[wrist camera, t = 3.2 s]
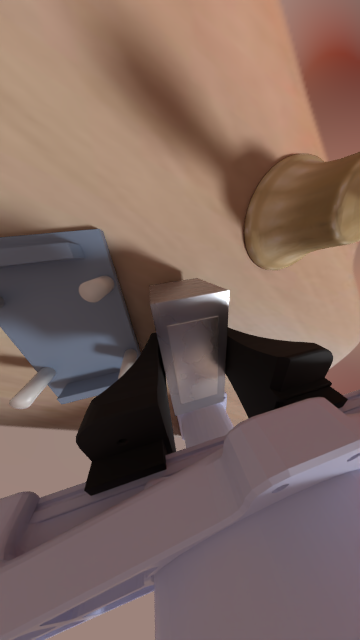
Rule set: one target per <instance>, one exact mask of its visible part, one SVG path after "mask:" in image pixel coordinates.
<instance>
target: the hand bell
mask: <svg viewBox="0 0 360 640" xmlns="http://www.w3.org/2000/svg"><path fill="white" fill-rule="evenodd" d="M244 237H245V244H246V249H247V251H248V254H249V256H250V258H251V259H252V260H253V262H254V263H255V264H256V265H258V266H259V267H261V268H263V269H266V270H280V269H283V268H286V267H288V266H291V265H293V264H294V263H296V262H297V261H299V260H300V259H302V258H303V257H304V256H305V255H306V254H308V253H310V252H313V251H316V250H320V249H324V248H329V247H335V246H341V245H347V244H352V243H356V242H358V241H360V152H358V153H355V154H353V155H350V156H347V157H344V158H341V159H338V160H333V161H329V162H324V161H323V160H322V159H321V158H319V157H317V156H315V155H312V154H296V155H292V156H289V157H287V158H285V159H283V160H281V161H280V162H278V163H277V164H276V165H275V166H274V167H273V168H271V169H270V170H269V172H268V173H267V174H266V175H265V176H264V177H263V179H262V180H261V182H260V183H259V185H258V186H257V188H256V190H255V192H254V194H253V196H252V198H251V201H250V204H249V206H248V210H247V213H246V217H245V227H244Z"/></svg>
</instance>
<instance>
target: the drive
mask: <svg viewBox="0 0 360 640" xmlns="http://www.w3.org/2000/svg"><path fill="white" fill-rule="evenodd" d="M150 306H151V311H152V315H153V320H154V324H155V329H156V333H157V337H158V342H159V346H160V351H161V355H162V360H163V364H164V369H165V373H166V378H167V382H168V387H169V391H170V396H171V400H172V405H173V409H174V413H175V416H177V415H181V414H184V413H187V412H191V411H194V410H197V409H201V408H204V407H207V406H211V405H214V404H217V403H220V402H224V386H225V367H226V347H227V327H228V308H229V290H227V289H224V288H222V287H219V286H216V285H214V284H211V283H208V282H206V281H203V280H201V279H198V278H195V279H189V280H182V281H176V282H169V283H163V284H156V285H150Z"/></svg>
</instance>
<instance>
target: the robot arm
mask: <svg viewBox="0 0 360 640" xmlns="http://www.w3.org/2000/svg"><path fill="white" fill-rule="evenodd" d="M332 361H333V356H332V353H331V352H330V351H329V350H327V349H325V348H323V347H321V346H319V345H317V344H315V343H307V342H291V341H282V340H274V339H268V338H262V337H257V336H253V335H249V334H246V333H242V332H239V331H236V330H233V329H231V328H228V327H227V347H226V367H225V373H226V375H227V377H228V379H229V380H230V382H231V384H232V386H233V388H234V390H235V392H236V393H237V395H238V397H239V399H240V401H241V403H242V405H243V407H244V409H245V411H246V414H247V416H248V418H249V419H247V420H245V421H242V422H240V423H238V424H237V425H236V426H235V427H234V426H233V424H232V422H231V420H230V418H229V416H228V414H227V412H226V402H227V394H226V392H224V402H220V403H217V404H214V405H211V406H207V407H204V408H201V409H197V410H194V411H191V412H187V413H184V414H181V415H177V417H178V422H179V427H180V432H181V436H182V439H183V440H185V443H186V449H183V450H180V451H177V452H176V448H175V442H174V435H173V429H172V422H171V416H170V409H169V403H168V396H167V388H166V373H165V369H164V364H163V360H162V355H161V351H160V346H159V342H158V337H157V333H152V334H151V336H150V338H149V340H148V343H147V344H146V346H145V348H144V350H143V351H142V353H141V354H140V356H139V357H138V359H137V360H136V361H135V363H134V364H133V365H132V366H131V367H130V368H129V369H128V370H127V371H126V372H125V373H124V374H123V375H122V376H121V377H120V378H119V379H118V380H117V381H116V382H115V383H113V384H112V385H111V386H110V387H109V388H107V389H106V390H105V391H103V392H102V393H101V394H99V395H98V396H97V397H96V398H94V399H93V400H92V401H91V403H90V405H89V407H88V409H87V411H86V414H85V416H84V418H83V421H82V423H81V426H80V428H79V431H78V433H77V436H76V443H77V445H78V446H79V448H80V449H81V450H82V451H83V452H84V453H85V454H86V456H87V457H89V459H90V460H91V461H92V464H91V467H90V471H89V474H88V478H87V481H86V482H85V483H82V484H79V485H76V486H73V487H70V488H67V489H65V490H61V491H59V492H56V493H53V494H50V495H47V496H44V497H41V498H39V496H38V495H37V494H36V493H34V492H21V493H17V494H14V495H11V496H8V497H5V498H1V499H0V640H45V639H48V638H50V637H52V636H54V635H56V634H59V633H61V632H63V631H65V630H67V629H70V628H72V627H74V626H76V625H79V624H81V623H83V622H85V621H88V620H90V619H92V618H94V617H97V616H99V615H101V614H103V613H106V612H108V611H110V610H112V609H114V608H117V607H119V606H121V605H123V604H126V603H128V602H130V601H132V600H135V599H137V598H139V597H141V596H144V595H146V594H148V593H150V592H153V591H154V592H155V640H360V390H357V391H354V392H351V393H348V394H345V395H341V394H340V393H339V392H337V391H335V390H334V389H333V388H331V387H330V386H331V384H332V383H331V382H330V381H328V380H327V379H325V376H326V374H327V372H328V370H329V368H330V366H331V364H332Z"/></svg>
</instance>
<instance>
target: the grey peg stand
mask: <svg viewBox="0 0 360 640" xmlns="http://www.w3.org/2000/svg"><path fill="white" fill-rule="evenodd" d="M0 327H1V328H2V329H3V331H4V332H5V333H6V334H7V335H8V337H9V338H10V339H11V340H12V342H13V343H14V344H15V345H16V346H17V348H18V349H19V350H20V351H21V353H22V354H23V355H24V356H25V358H26V359H27V360H28V361H29V362H30V364H31V365H32V366H33V367H34V369H35V370H36V371H37V372H38V373H37V374H36V375H35V376H34V377H33V378H32V379H31V380H30V381H29V382H28V383H27V384H26V385H25V386H24V387H23V388H22V389H21V390H20V391H19V392H18V393H17V394H16V395H15V396H14V397H13V398H12V399H11V400H10V401H9V405H10V406H11V407H13V408H16V409H25V408H28V407H29V406H30V405H31V404H32V403H33V402H34V400H35V399H36V398H37V397H38V395H39V394H40V393H41V392H42V390H43V389H44V388H45V387H46V386H47V385H48V386H49V387H50V388H51V389H52V391H53V392H54V393H55V394H56V396H57V397H58V398H57V400H58V401H59V402H60V403H61V404H66V403H69V402H73V401H77V400H81V399H85V398H89V397H93V396H97V395H99V394H101V393H102V392H103V391H105V390H106V389H107V388H109V387H110V386H111V385H112V384H113V383H115V382H116V381H117V380H118V379H119V378H120V377H121V376H122V375H123V374H124V373H125V372H126V371H127V370H128V369H129V368H130V367H131V366H132V365H133V364H134V363H135V361H136V360H137V359H138V357H139V356H140V354H141V353H140V349H139V346H138V343H137V340H136V336H135V333H134V330H133V327H132V324H131V320H130V317H129V314H128V311H127V307H126V304H125V301H124V298H123V294H122V291H121V288H120V285H119V281H118V278H117V275H116V272H115V269H114V265H113V262H112V259H111V256H110V252H109V249H108V246H107V243H106V239H105V236H104V233H103V231H102V230H100V229H92V230H80V231H69V232H57V233H46V234H34V235H23V236H11V237H0Z"/></svg>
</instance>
